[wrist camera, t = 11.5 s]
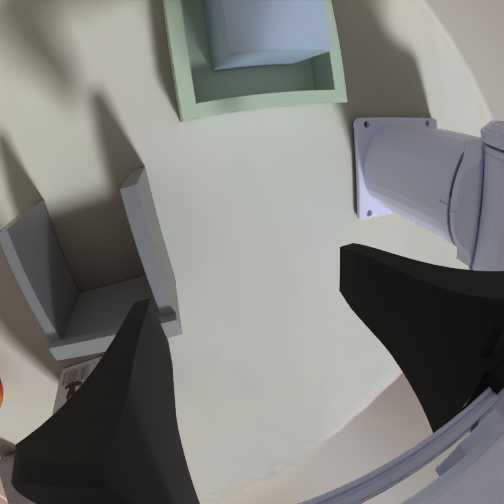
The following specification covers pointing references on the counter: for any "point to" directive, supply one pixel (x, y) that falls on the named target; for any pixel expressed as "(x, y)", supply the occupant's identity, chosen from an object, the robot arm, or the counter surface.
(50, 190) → the counter surface
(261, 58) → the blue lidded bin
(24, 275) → the printer bay
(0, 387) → the fruit
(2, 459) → the coffee pot
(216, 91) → the tray
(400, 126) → the robot arm
